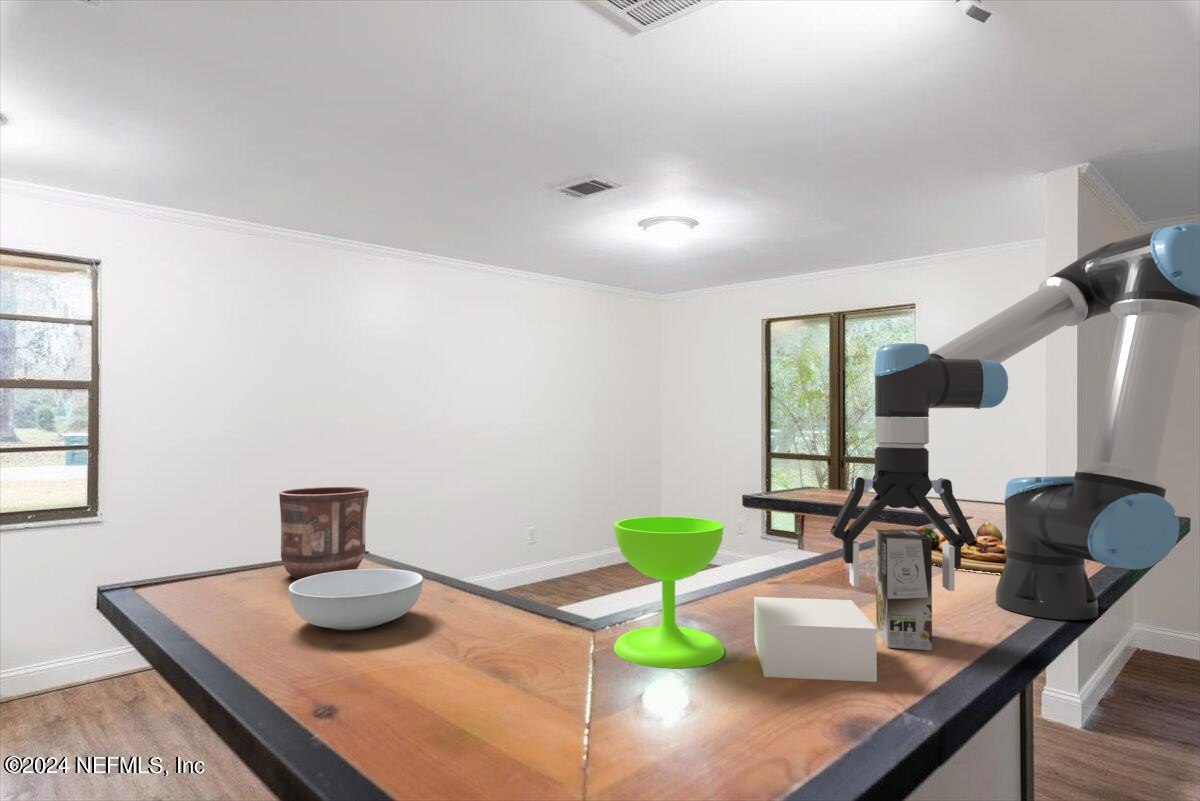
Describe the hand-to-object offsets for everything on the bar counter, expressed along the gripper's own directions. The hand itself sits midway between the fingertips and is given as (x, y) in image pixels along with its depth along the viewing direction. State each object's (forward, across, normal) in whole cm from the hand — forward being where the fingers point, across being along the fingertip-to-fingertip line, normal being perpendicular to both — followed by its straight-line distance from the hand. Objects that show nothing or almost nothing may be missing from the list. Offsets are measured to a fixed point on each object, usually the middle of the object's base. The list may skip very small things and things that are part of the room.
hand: (900, 587), depth 106 cm
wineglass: (+9, +35, +8) cm, 37 cm away
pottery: (+10, +109, -31) cm, 113 cm away
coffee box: (+8, 0, 0) cm, 8 cm away
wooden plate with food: (+8, -37, -63) cm, 74 cm away
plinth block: (+8, +15, +10) cm, 20 cm away
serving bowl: (+9, +86, +1) cm, 86 cm away
